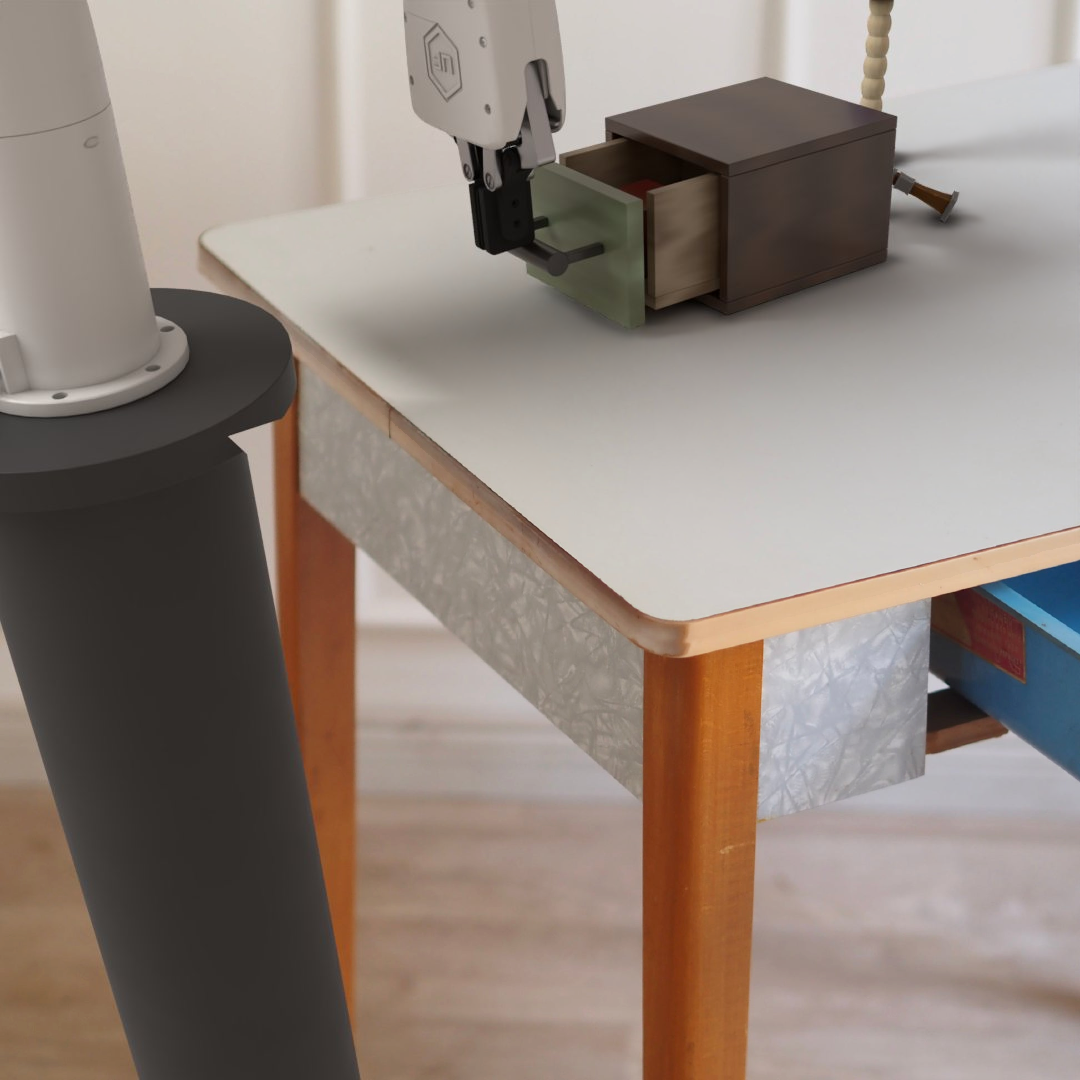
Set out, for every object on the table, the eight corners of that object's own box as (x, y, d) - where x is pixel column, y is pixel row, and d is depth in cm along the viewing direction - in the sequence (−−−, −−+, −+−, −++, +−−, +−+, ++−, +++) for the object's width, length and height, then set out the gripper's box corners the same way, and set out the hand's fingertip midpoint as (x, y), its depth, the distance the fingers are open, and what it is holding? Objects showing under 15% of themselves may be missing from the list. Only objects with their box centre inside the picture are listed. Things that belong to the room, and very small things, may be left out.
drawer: (572, 348, 88) (566, 221, 84) (472, 290, 96) (462, 171, 92) (788, 276, 95) (792, 156, 91) (677, 227, 104) (677, 115, 99)
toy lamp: (893, 149, 118) (910, -77, 109) (908, 168, 114) (927, -64, 105) (832, 153, 118) (844, -72, 109) (846, 172, 114) (859, -60, 105)
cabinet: (727, 315, 93) (729, 164, 88) (608, 257, 102) (604, 117, 97) (887, 260, 99) (897, 115, 94) (762, 210, 108) (765, 76, 103)
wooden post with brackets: (828, 194, 107) (857, 138, 105) (928, 244, 107) (961, 189, 104) (824, 202, 106) (854, 146, 103) (926, 253, 106) (958, 198, 103)
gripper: (344, -86, 83) (390, 230, 93) (487, -53, 72) (521, 301, 82) (460, -109, 86) (492, 198, 96) (613, -81, 75) (631, 263, 85)
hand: (505, 245), depth 89 cm, fingers closed
